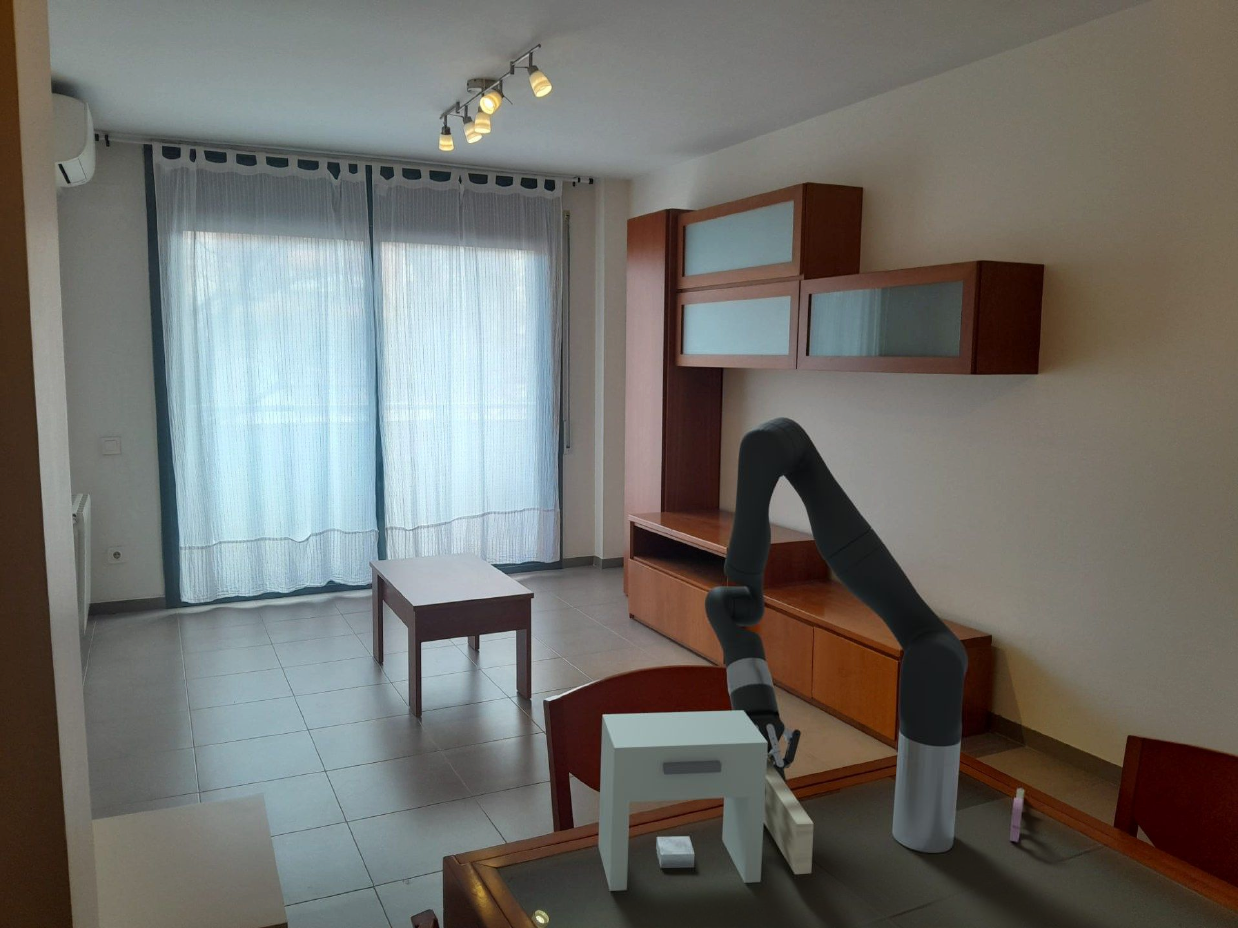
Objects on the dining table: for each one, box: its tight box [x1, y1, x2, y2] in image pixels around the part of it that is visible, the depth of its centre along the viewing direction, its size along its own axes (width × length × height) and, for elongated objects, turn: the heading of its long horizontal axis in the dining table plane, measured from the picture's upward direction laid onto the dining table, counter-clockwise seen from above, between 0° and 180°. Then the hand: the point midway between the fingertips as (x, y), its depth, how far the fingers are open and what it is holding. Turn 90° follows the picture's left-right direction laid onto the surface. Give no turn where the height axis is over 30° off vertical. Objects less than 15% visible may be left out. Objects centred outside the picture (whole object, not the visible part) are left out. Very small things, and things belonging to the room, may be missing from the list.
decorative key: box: [1009, 787, 1026, 843], centre depth 153 cm, size 7×1×20 cm
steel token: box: [655, 835, 695, 869], centre depth 138 cm, size 5×5×2 cm
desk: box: [598, 710, 768, 892], centre depth 135 cm, size 13×22×21 cm, turn 99°
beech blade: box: [763, 757, 815, 875], centre depth 141 cm, size 22×2×8 cm, turn 9°
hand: (771, 793), depth 144 cm, fingers closed on beech blade, 2 cm apart
